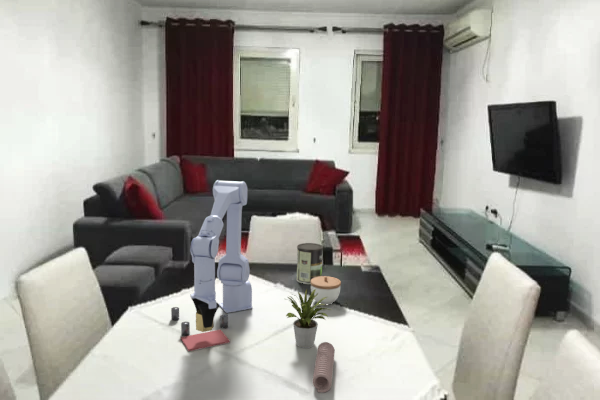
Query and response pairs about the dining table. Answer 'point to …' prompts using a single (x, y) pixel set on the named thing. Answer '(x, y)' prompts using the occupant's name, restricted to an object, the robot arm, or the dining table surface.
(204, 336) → the red mat
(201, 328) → the brass nut
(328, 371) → the coil
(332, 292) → the lidded jar
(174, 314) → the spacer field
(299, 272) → the coffee can
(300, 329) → the house plant
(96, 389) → the dining table surface
